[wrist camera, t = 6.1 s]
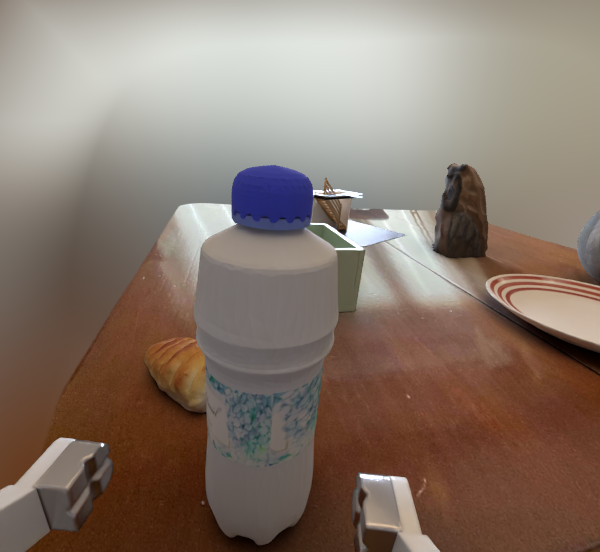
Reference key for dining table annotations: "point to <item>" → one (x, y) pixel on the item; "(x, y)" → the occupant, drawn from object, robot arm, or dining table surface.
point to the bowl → (590, 247)
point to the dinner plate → (552, 305)
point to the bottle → (264, 351)
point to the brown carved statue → (462, 215)
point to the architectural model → (345, 217)
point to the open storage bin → (343, 264)
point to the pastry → (179, 371)
